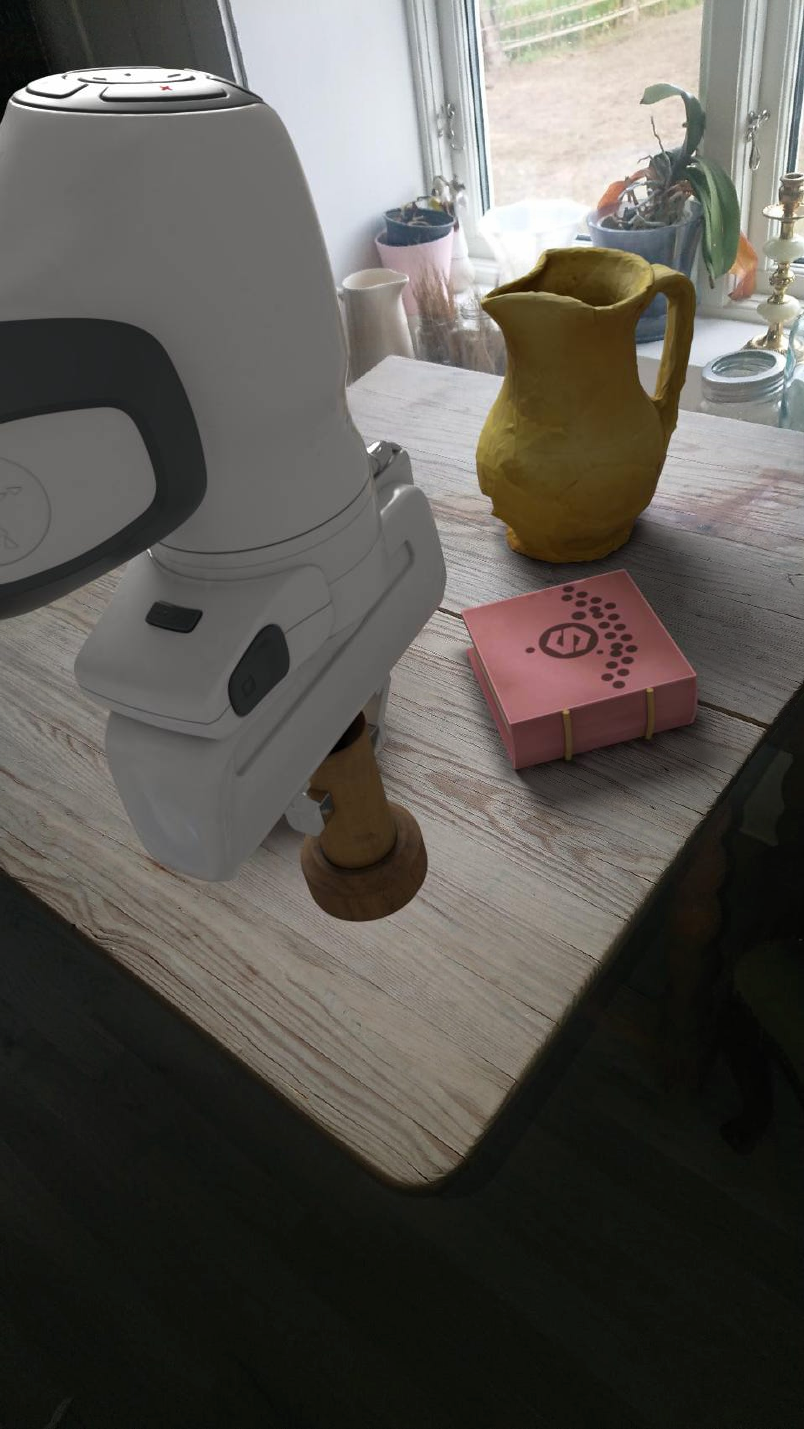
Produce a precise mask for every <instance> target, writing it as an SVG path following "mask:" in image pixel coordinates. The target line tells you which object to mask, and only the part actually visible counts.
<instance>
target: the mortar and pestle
mask: <svg viewBox="0 0 804 1429" xmlns="http://www.w3.org/2000/svg"><path fill="white" fill-rule="evenodd" d="M309 781H310V787H311V789H318V790H325V791H328V792H330V796H331V799H332V807H334V809H335V813H334V814H333V816H332V817H331V819H330V820H329V822H328V823H327V825H326V826H325V827H324V829H323V831H322V832H321V834H320V835H319V836H317V837H315V836H311V835H309V834H306V835H305V837H304V839H303V841H302V845H301V848H300V854H299V856H300V857H299V858H300V867H301V870H302V874H303V876H304V879H305V882H306V885H307V888H308V891H309V894H310V895H311V897H312V899H313V902H315V903H316V905H317V906H318V907H319V908H320V909H321V910H322V911H323V912H324V913H325V914H327V915H329V916H331V917H332V918H334V919H337V920H341V921H345V922H352V923H365V922H373V921H377V920H381V919H384V918H386V917H389V916H391V915H393V914H395V913H397V912H399V911H400V910H402V909H403V908H404V907H406V906H407V905H408V904H409V903H410V902H412V901H413V899H414V898H415V897H416V895H417V894H418V892H419V891H420V890H421V888H422V886H423V885H424V883H425V880H426V877H427V873H428V867H429V859H428V852H427V848H426V845H425V840H424V837H423V833H422V829H421V827H420V825H419V823H418V821H417V819H416V818H415V816H414V815H413V813H412V812H410V811H409V809H407V808H406V807H404V806H403V805H401V804H399V803H397V802H395V801H391V800H388V798H387V794H386V791H385V787H384V784H383V780H382V776H381V773H380V769H379V765H378V762H377V758H376V756H375V754H374V750H373V746H372V742H371V738H370V734H369V730H368V726H367V722H366V718H365V715H364V713H363V711H362V710H361V711H360V712H359V714H358V715H357V716H356V718H355V719H354V720H353V722H352V723H351V724H350V726H349V727H348V728H347V730H346V731H345V732H344V734H343V735H342V736H341V738H340V739H339V740H338V742H337V743H336V744H335V746H334V747H333V748H332V750H331V751H330V752H329V754H328V755H327V756H326V758H325V759H324V760H323V762H322V763H321V764H320V766H319V767H318V768H317V770H316V771H315V772H314V774H313V775H312V776H311V778H310V779H309Z"/></svg>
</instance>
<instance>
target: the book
mask: <svg viewBox="0 0 804 1429" xmlns="http://www.w3.org/2000/svg"><path fill="white" fill-rule="evenodd" d="M460 615H461V619H462V621H463V624H464V626H465V628H466V631H467V633H468V636H469V638H470V640H471V642H472V645H473V646H472V647H470V648H469V647H468V648H466V649H465V652H466V656H467V659H468V661H469V664H470V666H471V669H472V671H473V674H474V676H475V678H476V681H477V683H478V686H479V688H480V690H481V692H482V695H483V697H484V699H485V703H486V705H487V707H488V710H489V712H490V714H491V717H492V719H493V722H494V724H495V726H496V728H497V731H498V733H499V736H500V738H501V741H502V743H503V746H504V748H505V750H506V753H507V755H508V757H509V760H510V763H511V765H512V768H513V769H514V771H516V770H520V769H525V768H528V767H531V766H536V765H540V764H543V763H547V762H550V761H554V760H558V759H562V758H564V760H565V761H568V762H569V761H571V760H572V756H573V755H577V754H580V753H581V754H582V753H585V752H588V751H592V750H597V749H599V748H604V747H607V746H611V745H615V744H619V743H622V742H626V741H630V740H634V739H638V738H642V737H644V738H645V739H647V740H650V739H651V740H652V736H653V734H656V733H660V732H665V731H668V730H672V729H675V728H679V727H683V726H687V725H690V724H694V722H695V719H696V715H697V712H698V701H699V692H698V691H699V688H698V687H699V686H698V676H697V675H698V674H697V673H696V672H695V671H694V669H693V668H692V665H691V664H690V663H689V661H688V660H687V658H686V657H685V655H684V654H683V652H682V651H681V650H680V648H679V647H678V644H676V643H675V641H674V639H673V638H672V636H671V635H670V634H669V632H668V631H667V629H666V628H665V626H664V625H663V623H662V621H661V620H660V619H659V617H658V616H657V614H656V613H655V611H654V610H653V609H652V607H651V606H650V604H649V602H648V601H647V600H646V598H645V597H644V595H643V594H642V592H641V590H640V589H639V588H638V586H637V585H636V583H635V582H634V580H633V579H632V577H631V576H630V575H629V573H628V572H627V570H626V569H625V568H622V569H618V570H614V571H610V572H605V573H601V574H598V575H593V576H590V577H586V578H583V579H578V580H574V581H571V582H567V583H562V584H559V585H554V586H550V587H547V588H543V589H539V590H534V591H531V592H528V593H523V594H519V595H516V596H511V597H508V598H504V599H500V600H496V601H492V602H488V603H484V604H481V605H477V606H473V607H468V608H464V609H461V610H460Z"/></svg>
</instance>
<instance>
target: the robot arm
mask: <svg viewBox="0 0 804 1429" xmlns="http://www.w3.org/2000/svg"><path fill="white" fill-rule="evenodd" d="M348 371H349V343H348V336H347V331H346V326H345V322H344V316H343V312H342V308H341V302H340V298H339V293H338V290H337V285H336V280H335V276H334V271H333V267H332V264H331V259H330V255H329V252H328V247H327V244H326V239H325V236H324V232H323V229H322V225H321V221H320V218H319V215H318V211H317V207H316V204H315V200H314V197H313V194H312V191H311V187H310V185H309V181H308V179H307V176H306V173H305V170H304V167H303V164H302V162H301V158H300V156H299V154H298V152H297V149H296V146H295V144H294V142H293V139H292V137H291V135H290V133H289V130H288V129H287V127H286V124H285V123H284V121H283V120H282V118H281V116H280V114H279V113H278V112H277V111H276V110H275V108H273V107H272V106H270V105H269V104H268V103H266V102H265V100H264V99H263V98H262V97H261V96H260V95H258V94H256V93H255V92H253V91H251V90H250V89H248V88H246V87H244V86H243V85H240V84H238V83H236V82H233V81H231V80H229V79H227V78H224V77H222V76H218V75H215V74H212V73H209V72H206V71H205V72H204V71H199V70H194V69H190V68H183V69H174V68H173V69H172V68H171V69H170V68H169V69H168V68H164V67H162V66H111V67H97V68H86V69H78V70H71V71H67V72H64V73H57V74H52V75H48V76H45V77H41V78H38V79H36V80H33V81H31V82H29V83H28V84H27V85H26V86H25V87H23V88H21V89H19V90H16V91H15V92H14V93H13V94H12V96H11V97H10V98H9V99H8V102H7V105H6V109H5V110H4V115H3V118H2V120H1V122H0V621H4V620H9V619H12V618H16V617H19V616H23V615H25V614H28V613H32V612H33V611H36V610H39V609H41V608H44V607H46V606H48V605H50V604H51V603H53V602H56V601H58V600H60V599H62V598H64V597H66V596H68V595H70V594H71V593H73V592H75V591H77V590H79V589H81V588H83V587H85V586H86V585H89V584H90V583H92V582H94V581H96V580H98V579H99V578H102V577H103V576H105V575H106V574H108V573H110V572H112V571H113V570H115V569H117V568H119V567H120V566H122V565H124V564H126V563H127V562H128V563H127V565H126V568H125V570H124V571H123V573H122V576H121V578H120V580H119V582H118V584H117V586H116V588H115V590H114V591H113V594H112V595H111V597H110V599H109V601H108V603H107V604H106V606H105V608H104V609H103V611H102V613H101V615H100V616H99V618H98V619H97V621H96V623H95V624H94V626H93V627H92V629H91V630H90V632H89V634H88V636H87V637H86V639H85V640H84V642H83V643H82V645H81V647H80V649H79V651H78V653H77V655H76V657H75V660H74V664H73V674H74V678H75V681H76V684H77V686H78V687H79V689H80V691H81V692H82V694H83V695H84V697H85V698H86V699H88V700H90V701H91V702H92V703H93V702H94V703H95V704H98V705H100V706H102V707H104V708H106V709H108V710H110V711H109V714H108V716H107V720H106V724H105V731H104V748H105V749H104V750H105V757H106V762H107V765H108V769H109V771H110V775H111V777H112V780H113V782H114V785H115V788H116V791H117V793H118V796H119V798H120V800H121V803H122V806H123V808H124V810H125V812H126V814H127V816H128V818H129V820H130V823H131V825H132V827H133V829H134V831H135V834H136V836H137V837H138V839H139V841H140V842H141V844H142V846H143V847H144V849H145V850H146V852H147V854H148V855H150V857H151V858H153V859H154V860H155V861H156V862H158V863H160V864H161V865H163V866H165V867H167V868H168V869H171V870H173V871H176V872H177V873H180V874H183V875H185V876H188V877H189V878H193V879H196V880H200V881H203V882H210V883H211V882H212V883H225V882H227V883H228V882H230V881H232V880H234V879H235V878H236V877H238V875H239V874H241V871H242V870H243V869H244V868H245V866H246V865H247V863H248V862H249V861H250V859H251V858H252V857H253V855H254V854H255V852H256V851H257V850H258V849H259V847H260V846H261V844H262V843H263V842H264V840H265V839H266V838H267V837H268V835H269V834H270V832H272V830H273V829H274V827H275V826H276V824H278V822H279V821H280V819H281V818H282V816H283V815H285V818H286V821H287V823H288V824H289V826H290V827H291V828H292V829H294V830H295V831H297V832H300V833H303V834H306V835H307V834H309V835H311V836H315V837H317V836H319V835H320V834H321V832H322V831H323V829H324V827H325V826H326V825H327V823H328V822H329V820H330V819H331V817H332V816H333V814H334V813H335V809H334V807H332V799H331V796H330V792H328V791H325V790H318V789H311V787H310V781H309V779H310V778H311V776H312V775H313V774H314V772H315V771H316V770H317V768H318V767H319V766H320V764H321V763H322V762H323V760H324V759H325V758H326V756H327V755H328V754H329V752H330V751H331V750H332V748H333V747H334V746H335V744H336V743H337V742H338V740H339V739H340V738H341V736H342V735H343V734H344V732H345V731H346V730H347V728H348V727H349V726H350V724H351V723H352V722H353V720H354V719H355V718H356V716H357V715H358V714H359V712H360V711H361V710H362V711H363V713H364V715H365V718H366V722H367V726H368V730H369V734H370V738H371V742H372V746H373V750H374V754H375V757H376V756H377V754H378V753H379V752H380V751H381V749H382V748H383V747H384V745H385V743H386V742H387V740H388V734H387V729H386V725H385V719H384V717H386V716H385V715H386V710H387V705H388V704H387V703H388V698H389V692H390V687H391V680H392V677H391V671H392V670H393V669H394V667H395V666H396V664H398V662H399V660H400V659H401V658H402V656H404V654H405V653H406V651H407V650H408V649H409V648H410V646H411V645H412V643H413V642H414V641H415V640H416V638H417V637H418V635H419V634H420V633H421V631H422V630H423V629H424V627H425V626H426V625H427V624H428V622H429V621H430V619H431V618H432V617H433V615H434V614H435V613H436V612H437V611H438V609H439V607H440V606H441V605H442V602H443V600H444V596H445V592H446V585H447V578H448V576H447V567H446V563H445V562H446V561H445V557H444V552H443V549H442V548H443V547H442V543H441V539H440V536H439V531H438V527H437V524H436V520H435V517H434V514H433V510H432V507H431V504H430V502H429V500H428V498H427V496H426V494H425V493H424V491H423V490H422V489H421V488H420V487H419V486H417V485H415V480H414V475H413V469H412V468H413V467H412V462H411V458H410V455H409V453H408V451H407V450H406V449H403V447H402V446H401V445H399V444H398V443H397V442H394V441H386V440H383V439H379V440H377V441H374V442H373V443H371V444H370V445H368V446H367V443H366V441H365V439H364V436H363V435H362V433H361V431H360V429H359V428H358V426H357V424H356V422H355V420H354V417H353V415H352V413H351V409H350V406H349V401H348V392H347V380H348V379H347V377H348Z"/></svg>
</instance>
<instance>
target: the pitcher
mask: <svg viewBox="0 0 804 1429" xmlns="http://www.w3.org/2000/svg"><path fill="white" fill-rule="evenodd" d="M659 293H662V294H663V295H664V296H665V297H666V326H665V331H664V336H663V337H664V338H663V346H662V354H661V357H660V364H659V367H658V370H657V375H656V376H657V377H656V382H655V386H654V387H655V388H654V393H653V396H650V395H649V394H648V392H646V390H645V389H644V386H643V385H642V383H641V380H640V376H639V375H640V374H639V367H638V366H639V365H638V353H637V343H636V328H637V327H638V324H639V321H640V319H641V317H642V315H643V314H644V313H645V312H646V310H647V309H648V308H649V307H650V306H651V305H652V303H653V300H654V299H655V298H656V296H657V295H658V294H659ZM479 304H480V306H481V310H482V311H483V312H485V313H486V314H487V315H488V316H489V317H490V318H491V319H492V321H493V322H494V323H495V324H496V325H497V326H498V327H499V329H500V331H501V333H502V337H503V338H504V339H503V340H504V345H505V347H504V348H505V373H504V379H503V381H502V386H501V388H500V390H499V393H498V394H497V397H496V399H495V401H494V403H493V404H492V406H491V408H490V409H489V413H488V414H487V417H486V418H485V422H484V424H483V426H482V428H481V431H480V434H479V438H478V443H477V447H476V452H475V457H474V458H475V462H476V463H475V467H476V469H475V470H476V476H477V482H478V487H479V490H480V492H481V495H483V496H485V497H488V498H490V500H491V504H492V507H493V509H492V511H491V512H490V515H491V516H492V517H495V518H496V519H498V520H499V521H502V522H503V523H504V524H505V525H507V526H506V528H507V529H506V531H505V534H506V535H505V539H506V542H507V544H508V545H509V546H508V547H509V548H510V549H511V550H512V551H514V552H516V553H518V554H520V553H521V554H522V555H525V556H526V557H529V558H530V559H536V560H539V561H541V560H542V561H543V562H545V561H546V562H547V563H551V564H567V563H571V562H572V563H574V562H575V563H579V562H580V563H582V562H584V561H585V562H592V561H595V560H600V559H604V558H606V557H607V556H608V555H609V554H612V553H613V552H617V551H618V550H619V548H620V547H622V546H624V544H627V543H628V540H629V539H630V537H631V535H632V532H633V530H634V529H633V528H634V526H635V520H636V519H637V518H638V517H639V516H641V514H642V513H643V512H644V511H646V509H648V507H650V505H651V502H652V500H653V498H654V496H655V494H656V491H657V487H658V483H659V480H660V477H661V475H662V472H663V469H664V466H665V463H666V460H667V456H668V450H669V446H670V442H671V439H672V435H673V433H674V432H675V430H676V429H677V428H678V425H677V423H678V420H679V404H680V400H681V391H682V390H683V388H684V386H685V384H686V382H687V379H686V378H687V371H688V366H689V361H690V357H691V350H692V345H693V344H692V343H693V340H694V333H695V318H696V310H697V295H696V288H695V285H694V283H693V281H692V280H691V278H689V277H688V276H687V274H684V273H682V272H680V271H679V270H677V269H676V270H675V269H673V268H670V267H669V266H667V265H664V264H661V263H654V264H651V263H650V262H649V261H648V260H646V259H645V258H644V257H643V256H641V255H639V254H636V253H635V252H630V251H624V250H622V249H619V248H612V247H611V248H610V247H602V246H573V247H559V248H557V247H556V248H555V247H554V248H548V249H546V250H543V252H542V253H541V254H540V256H539V258H538V260H537V263H536V265H535V266H534V268H533V269H531V270H530V271H529V272H528V273H527V274H526V275H523V276H521V277H519V278H517V279H514V280H512V281H510V282H506V283H504V284H503V285H500V286H498V287H495V288H493V289H491V291H489V292H488V293H487V294H486V295H484V296H483V297H482V299H481V301H480V302H479Z"/></svg>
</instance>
